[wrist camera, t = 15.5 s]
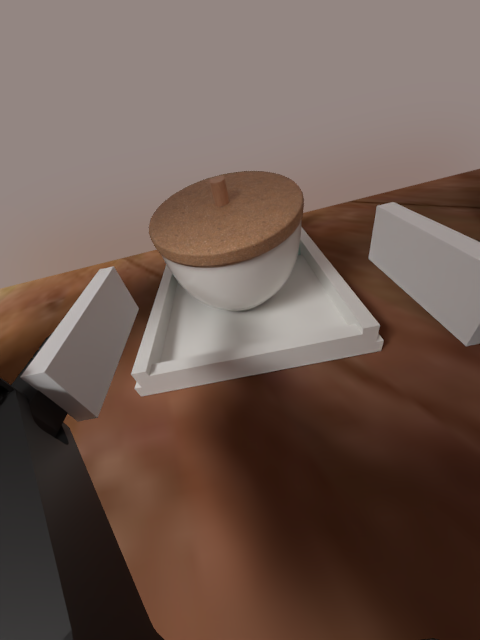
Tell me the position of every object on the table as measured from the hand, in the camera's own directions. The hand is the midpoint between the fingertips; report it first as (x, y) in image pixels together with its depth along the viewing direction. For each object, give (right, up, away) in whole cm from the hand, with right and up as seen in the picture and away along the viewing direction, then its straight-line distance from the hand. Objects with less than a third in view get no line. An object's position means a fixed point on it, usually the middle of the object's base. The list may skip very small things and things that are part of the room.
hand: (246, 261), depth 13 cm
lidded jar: (0, 0, +10) cm, 10 cm away
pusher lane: (0, 0, +13) cm, 13 cm away
